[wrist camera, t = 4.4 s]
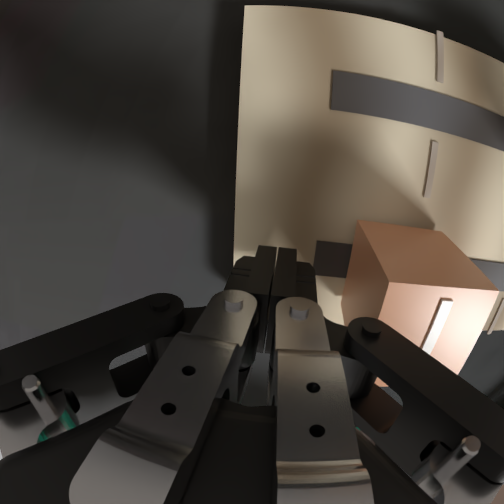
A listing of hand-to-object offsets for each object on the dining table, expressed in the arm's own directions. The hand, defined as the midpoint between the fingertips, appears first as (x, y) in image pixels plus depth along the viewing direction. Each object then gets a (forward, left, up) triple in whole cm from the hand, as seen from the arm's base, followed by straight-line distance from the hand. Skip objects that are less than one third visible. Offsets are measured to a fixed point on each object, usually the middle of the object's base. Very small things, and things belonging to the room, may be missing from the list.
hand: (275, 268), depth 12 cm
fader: (+5, 0, -1) cm, 5 cm away
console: (+7, +4, -3) cm, 9 cm away
